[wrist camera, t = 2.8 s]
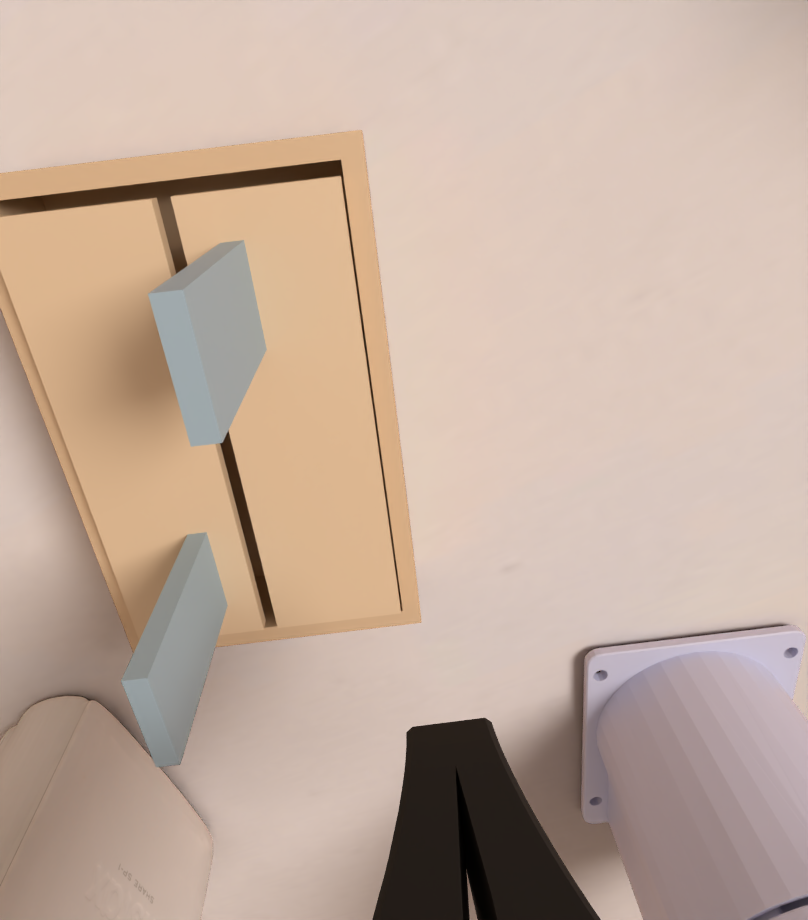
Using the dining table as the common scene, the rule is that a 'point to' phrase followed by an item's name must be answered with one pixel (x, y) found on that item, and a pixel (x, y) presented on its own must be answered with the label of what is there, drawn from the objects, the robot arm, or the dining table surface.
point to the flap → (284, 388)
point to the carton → (163, 181)
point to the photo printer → (93, 823)
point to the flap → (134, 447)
